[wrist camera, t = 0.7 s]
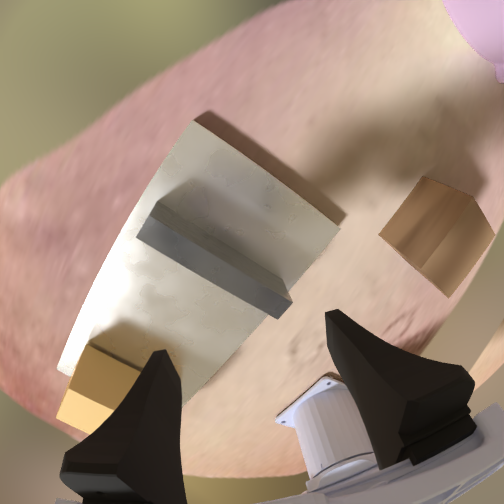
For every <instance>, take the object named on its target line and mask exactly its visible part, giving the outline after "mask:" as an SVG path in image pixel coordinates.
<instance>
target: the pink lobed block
mask: <svg viewBox="0 0 504 504" xmlns="http://www.w3.org/2000/svg"><path fill="white" fill-rule="evenodd" d="M442 1H443V4H444V6H445V8H446V10H447V12H448V14H449V16H450V18H451V20H452V21H453V23H454V25H455V26H456V28H457V29H458V31H459V32H460V34H461V35H462V36H463V38H464V39H465V40H466V41H467V43H468V44H469V45H470V46H471V47H472V48H473V49H474V50H475V51H476V52H477V53H478V54H479V55H480V56H482V57H483V58H484V59H486V60H488V61H489V62H491V63H493V64H494V66H495V73H496V79H497V81H498V82H499V83H503V84H504V0H442Z"/></svg>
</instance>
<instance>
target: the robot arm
mask: <svg viewBox="0 0 504 504" xmlns="http://www.w3.org/2000/svg"><path fill="white" fill-rule="evenodd" d="M325 321H326V335H327V347H328V349H329V352H330V354H331V357H332V359H333V362H334V364H335V366H336V368H337V370H338V372H339V374H340V375H341V377H342V379H343V381H344V383H343V382H340V381H338V380H335V379H333V378H330V377H328V376H325V377H323V378H321V379H320V380H319V381H318V382H317V383H316V384H315V385H314V386H312V387H311V388H310V389H309V390H308V391H307V392H306V393H305V394H303V395H302V396H301V397H300V398H299V399H298V400H296V401H295V402H294V403H293V404H292V405H291V406H289V407H288V408H287V409H286V410H285V411H283V412H282V413H281V414H280V415H279V416H277V417H276V418H275V422H276V423H278V424H282V425H285V426H289V427H293V428H295V429H296V433H297V436H298V439H299V443H300V446H301V450H302V453H303V457H304V460H305V464H306V467H307V471H308V474H309V477H310V480H309V481H307V482H306V485H307V489H308V490H307V491H305V492H303V493H302V494H300V495H295V496H291V497H286V498H282V499H277V500H272V501H267V502H261V503H256V504H448V503H450V502H451V501H453V500H455V499H456V498H458V497H459V496H461V495H462V494H464V493H465V492H467V491H468V490H470V489H471V488H473V487H474V486H476V485H477V484H479V483H480V482H482V481H483V480H484V479H486V478H487V477H488V476H490V475H491V474H493V473H494V472H496V471H497V470H498V469H500V468H501V467H502V466H503V465H504V411H503V409H502V408H501V407H500V405H499V404H498V403H497V402H495V403H493V404H492V405H490V406H489V407H487V408H486V409H484V410H483V411H481V412H480V413H478V414H477V415H476V416H475V417H474V418H473V419H472V418H471V416H470V415H469V413H470V412H471V410H470V408H469V407H468V406H467V403H468V401H469V399H470V397H471V395H472V393H473V390H474V387H475V381H474V380H473V379H472V377H471V376H470V375H469V373H468V372H467V371H466V370H465V369H464V368H463V367H462V366H461V365H454V364H448V363H442V362H438V361H434V360H430V359H426V358H423V357H420V356H417V355H414V354H411V353H409V352H406V351H404V350H402V349H399V348H397V347H395V346H393V345H391V344H389V343H387V342H385V341H384V340H382V339H380V338H378V337H377V336H375V335H374V334H372V333H371V332H369V331H368V330H366V329H365V328H363V327H362V326H360V325H359V324H357V323H356V322H355V321H353V320H352V319H351V318H349V317H348V316H347V315H345V314H344V313H343V312H342V311H340V310H339V309H335V310H332V311H328V312H325ZM181 411H182V387H181V379H180V377H179V375H178V373H177V371H176V369H175V367H174V365H173V363H172V361H171V359H170V356H169V354H168V352H167V350H166V349H163V350H158V351H153V353H152V355H151V356H150V358H149V359H148V361H147V363H146V365H145V366H144V368H143V370H142V371H141V373H140V375H139V376H138V378H137V380H136V381H135V383H134V384H133V386H132V388H131V389H130V390H129V392H128V393H127V395H126V396H125V398H124V399H123V400H122V402H121V403H120V404H119V406H118V407H117V408H116V409H115V410H114V412H113V413H112V414H111V415H110V416H109V417H108V418H107V419H106V420H105V421H104V422H103V423H102V424H101V425H100V426H99V427H98V428H97V429H96V430H95V431H94V432H93V433H92V434H90V435H89V436H88V437H87V438H85V439H84V440H83V441H82V442H80V443H79V444H77V445H76V446H74V447H73V448H71V449H70V450H68V451H67V452H65V455H64V459H63V463H62V467H61V471H60V479H61V480H62V482H63V483H64V484H65V485H66V486H68V487H69V488H70V489H72V490H73V491H74V492H76V493H77V494H79V495H80V496H81V497H83V502H82V503H80V502H77V501H73V500H67V499H61V498H56V501H55V504H187V500H186V494H185V488H184V482H183V474H182V465H181V454H180V428H181Z"/></svg>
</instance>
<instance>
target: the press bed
mask: <svg viewBox="0 0 504 504" xmlns="http://www.w3.org/2000/svg"><path fill="white" fill-rule="evenodd" d="M339 230H340V228H339V227H338V226H337V225H336V224H335V223H334V222H333V221H331V220H330V219H329V218H328V217H326V216H325V215H324V214H323V213H321V212H320V211H319V210H317V209H316V208H315V207H314V206H312V205H311V204H310V203H309V202H307V201H306V200H305V199H303V198H302V197H301V196H299V195H298V194H297V193H296V192H294V191H293V190H292V189H290V188H289V187H288V186H286V185H285V184H284V183H282V182H281V181H280V180H278V179H277V178H276V177H274V176H273V175H272V174H270V173H269V172H268V171H266V170H265V169H263V168H262V167H261V166H259V165H258V164H257V163H255V162H254V161H252V160H251V159H250V158H248V157H247V156H245V155H244V154H243V153H241V152H240V151H238V150H237V149H235V148H234V147H233V146H231V145H230V144H228V143H227V142H225V141H224V140H223V139H221V138H220V137H218V136H217V135H215V134H214V133H212V132H211V131H209V130H208V129H206V128H205V127H203V126H202V125H200V124H199V123H197V122H196V121H194V120H192V121H191V122H190V124H189V125H188V126H187V128H186V129H185V131H184V132H183V133H182V135H181V136H180V138H179V139H178V141H177V142H176V144H175V145H174V146H173V148H172V149H171V151H170V152H169V154H168V155H167V157H166V158H165V160H164V161H163V163H162V164H161V166H160V168H159V169H158V171H157V172H156V174H155V175H154V177H153V178H152V180H151V182H150V183H149V185H148V186H147V188H146V190H145V191H144V193H143V195H142V196H141V198H140V200H139V201H138V203H137V205H136V206H135V208H134V210H133V211H132V213H131V215H130V216H129V218H128V220H127V222H126V223H125V225H124V227H123V229H122V230H121V232H120V234H119V236H118V238H117V240H116V241H115V243H114V245H113V247H112V249H111V251H110V252H109V254H108V256H107V258H106V260H105V262H104V264H103V266H102V268H101V270H100V272H99V274H98V276H97V278H96V280H95V282H94V284H93V286H92V288H91V290H90V292H89V294H88V296H87V298H86V301H85V303H84V305H83V307H82V309H81V311H80V314H79V316H78V318H77V320H76V323H75V325H74V327H73V330H72V332H71V334H70V337H69V339H68V341H67V344H66V346H65V349H64V351H63V354H62V356H61V359H60V361H59V364H58V366H57V370H59V371H61V372H62V373H64V374H66V375H68V376H70V377H71V375H72V373H73V370H74V368H75V366H76V364H77V362H78V359H79V357H80V355H81V353H82V351H83V349H84V347H85V345H86V344H87V345H89V346H91V347H93V348H95V349H96V350H98V351H100V352H102V353H104V354H106V355H108V356H110V357H112V358H114V359H115V360H117V361H119V362H121V363H123V364H125V365H128V366H130V367H132V368H134V369H136V370H138V371H140V372H141V371H142V370H143V368H144V366H145V365H146V363H147V361H148V359H149V358H150V356H151V355H152V353H153V351H158V350H163V349H166V350H167V352H168V354H169V356H170V359H171V361H172V363H173V365H174V367H175V369H176V371H177V373H178V375H179V377H180V379H181V387H182V407H183V406H184V405H185V404H186V403H187V402H188V401H189V400H190V399H191V398H192V397H193V396H194V395H195V394H196V393H197V392H198V390H199V389H200V388H201V387H202V386H203V385H204V384H205V383H206V382H207V381H208V380H209V379H210V378H211V377H212V376H213V375H214V374H215V373H216V372H217V370H218V369H219V368H220V367H221V366H222V365H223V364H224V363H225V362H226V361H227V360H228V359H229V358H230V356H231V355H232V354H233V353H234V352H235V351H236V350H237V349H238V348H239V347H240V346H241V344H242V343H243V342H244V341H245V340H246V339H247V338H248V337H249V336H250V335H251V333H252V332H253V331H254V330H255V329H256V328H257V327H258V326H259V324H260V323H261V322H262V321H263V320H264V319H265V318H266V317H267V315H268V314H269V315H270V316H272V317H274V318H276V319H279V318H280V317H281V315H282V314H283V313H284V312H285V311H286V310H287V309H288V308H289V307H290V305H291V304H292V303H293V302H292V299H291V297H290V295H289V293H288V291H289V290H290V289H291V288H292V287H293V286H294V284H295V283H296V282H297V281H298V280H299V278H300V277H301V276H302V275H303V274H304V273H305V271H306V270H307V269H308V268H309V267H310V265H311V264H312V263H313V262H314V261H315V259H316V258H317V257H318V256H319V255H320V253H321V252H322V251H323V250H324V249H325V247H326V246H327V245H328V244H329V242H330V241H331V240H332V239H333V238H334V236H335V235H336V234H337V233H338V231H339Z"/></svg>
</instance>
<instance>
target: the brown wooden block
mask: <svg viewBox="0 0 504 504" xmlns="http://www.w3.org/2000/svg"><path fill="white" fill-rule="evenodd" d="M378 235H379V236H380V237H382V238H383V239H384V240H385V241H386V242H387V243H388V244H389V245H390V246H391V247H392V248H393V249H394V250H395V251H397V252H398V253H399V254H400V255H401V256H402V257H403V258H404V259H405V260H406V261H407V262H408V263H409V264H410V265H411V266H413V267H414V268H415V269H416V270H417V271H418V272H420V273H421V274H422V275H423V276H424V277H425V278H426V279H428V280H429V281H430V282H431V283H432V284H433V285H434V286H435V287H436V288H438V289H439V290H440V291H441V292H442V293H443V294H444V295H445V296H446V297H447V298H449V297H450V296H451V295H452V294H453V293H454V291H455V290H456V289H457V288H458V286H459V285H460V284H461V282H462V281H463V280H464V278H465V277H466V276H467V275H468V273H469V272H470V271H471V269H472V268H473V266H474V265H475V264H476V262H477V261H478V260H479V258H480V257H481V255H482V254H483V253H484V251H485V250H486V248H487V247H488V245H489V244H490V242H491V241H492V239H493V238H494V236H495V233H494V232H493V230H492V228H491V226H490V224H489V223H488V221H487V219H486V217H485V216H484V214H483V212H482V211H481V209H480V207H479V206H478V204H477V202H476V201H475V199H474V197H472V196H470V195H468V194H465V193H463V192H461V191H458V190H456V189H454V188H451V187H449V186H446V185H444V184H441V183H439V182H436V181H434V180H431V179H429V178H426V177H423V176H422V178H421V179H420V181H419V182H418V183H417V185H416V186H415V187H414V189H413V190H412V192H411V193H410V194H409V196H408V197H407V198H406V200H405V201H404V202H403V204H402V205H401V206H400V208H399V209H398V210H397V211H396V213H395V214H394V215H393V217H392V218H391V219H390V220H389V222H388V223H387V224H386V226H385V227H384V228H383V229H382V231H381V232H380V233H379V234H378Z"/></svg>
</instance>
